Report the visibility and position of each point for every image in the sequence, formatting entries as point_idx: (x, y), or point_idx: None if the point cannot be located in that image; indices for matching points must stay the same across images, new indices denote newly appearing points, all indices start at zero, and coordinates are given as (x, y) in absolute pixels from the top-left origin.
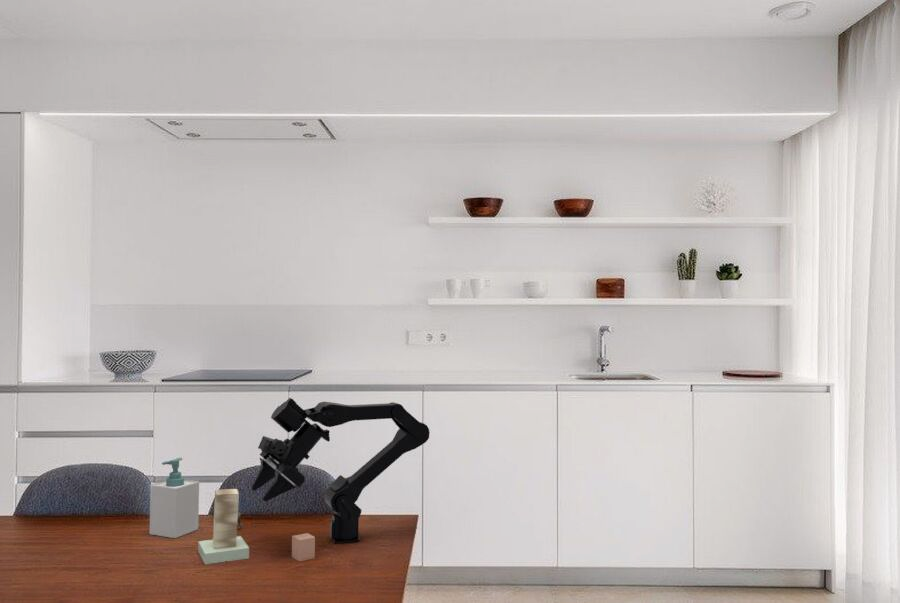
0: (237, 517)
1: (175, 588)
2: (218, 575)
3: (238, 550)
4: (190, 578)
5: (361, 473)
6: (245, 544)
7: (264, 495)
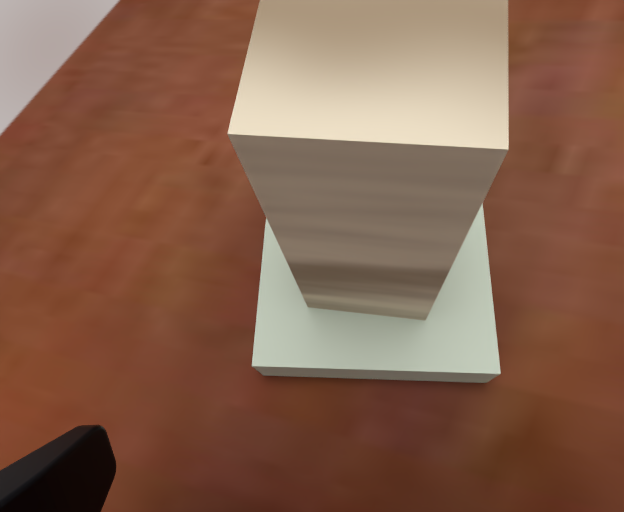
0: (281, 246)
1: (100, 87)
2: (128, 216)
3: (259, 310)
4: (159, 131)
5: None
6: (321, 361)
7: (56, 449)
